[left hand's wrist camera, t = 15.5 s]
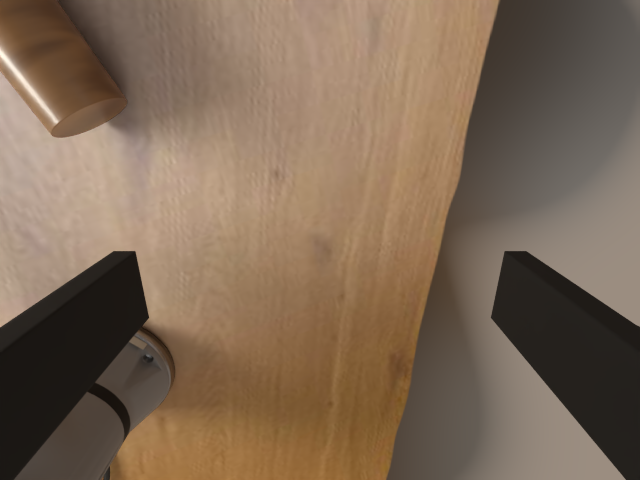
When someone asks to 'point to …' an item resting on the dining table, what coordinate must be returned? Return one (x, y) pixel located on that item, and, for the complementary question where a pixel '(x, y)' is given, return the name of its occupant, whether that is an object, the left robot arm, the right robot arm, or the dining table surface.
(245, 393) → the dining table surface
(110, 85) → the rod
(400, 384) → the dining table surface
